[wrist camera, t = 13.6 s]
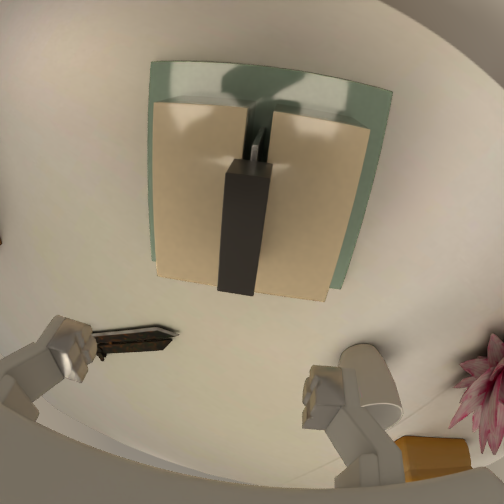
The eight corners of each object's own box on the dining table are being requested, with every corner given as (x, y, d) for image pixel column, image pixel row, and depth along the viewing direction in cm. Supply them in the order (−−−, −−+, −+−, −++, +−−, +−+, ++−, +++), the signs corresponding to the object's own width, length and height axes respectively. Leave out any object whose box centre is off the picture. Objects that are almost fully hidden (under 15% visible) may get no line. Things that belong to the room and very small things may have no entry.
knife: (176, 322, 38) (173, 330, 37) (193, 356, 41) (191, 363, 40) (47, 325, 43) (42, 331, 42) (66, 352, 46) (62, 358, 45)
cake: (154, 61, 22) (115, 61, 17) (390, 91, 22) (421, 98, 16) (154, 257, 33) (129, 296, 27) (340, 285, 33) (348, 331, 27)
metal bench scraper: (248, 125, 24) (226, 154, 16) (278, 128, 24) (273, 160, 16) (237, 232, 30) (216, 302, 21) (263, 235, 29) (251, 308, 21)
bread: (467, 438, 54) (478, 487, 41) (432, 459, 60) (438, 505, 48) (404, 434, 51) (413, 497, 38) (366, 457, 57) (369, 513, 45)
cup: (319, 369, 40) (321, 433, 32) (345, 329, 36) (354, 400, 27) (370, 377, 41) (379, 437, 32) (399, 341, 36) (417, 405, 28)
